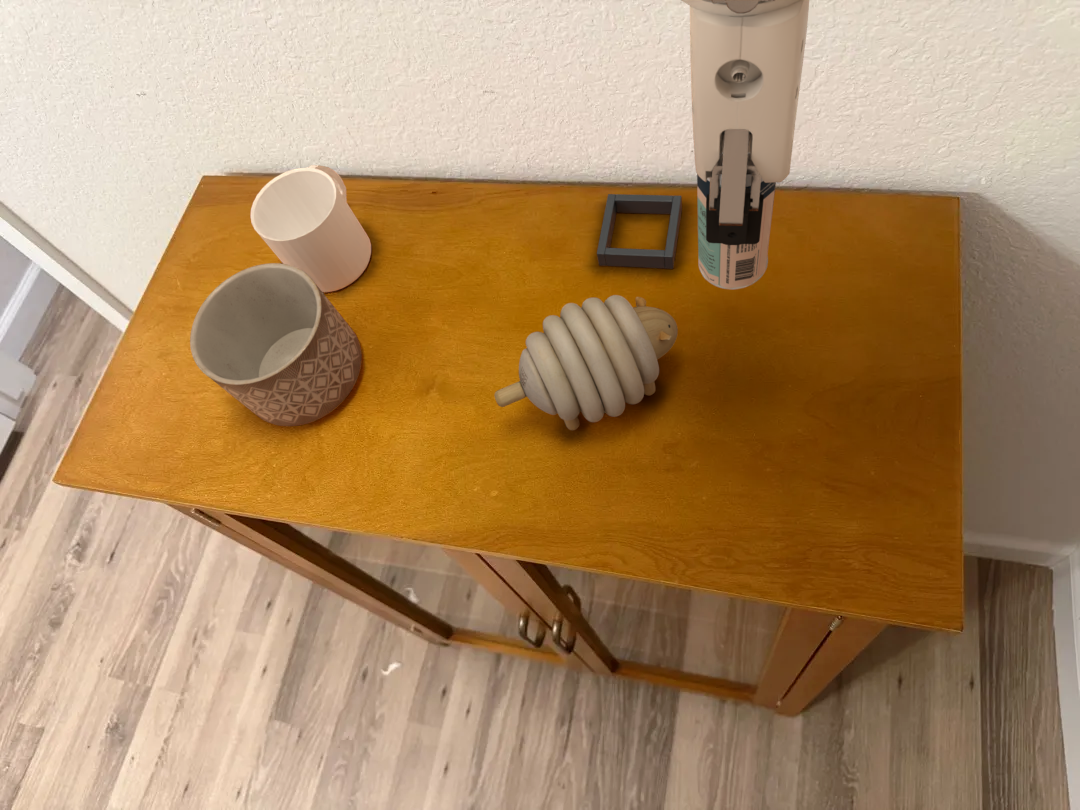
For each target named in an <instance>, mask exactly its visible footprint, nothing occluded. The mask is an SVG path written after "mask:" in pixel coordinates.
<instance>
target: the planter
mask: <svg viewBox="0 0 1080 810" xmlns="http://www.w3.org/2000/svg"><path fill="white" fill-rule="evenodd" d="M189 344H190V345H189V346H190V352H191V356H192V358H193V361H194V362H195V365H196V367H197V368H198V369H199V370H200V371H201V372H202V373H203V374H204V375H205V376H206V377H208V378H209V379H210V380H211V381H213V382H214V383H216V385H218V386H219V387H221V389H223V390H224V391H225V392H226V393H228V394H229V395H231V396H232V397H233V398H234V399H235V400H237V401H238V402H239V403H241V404H242V405H243V406H244V407H246V408H247V409H248V410H250V411H251V412H252V413H253V414H254V415H255V416H257V417H258V418H260V419H261V420H263V421H264V422H267V423H269V424H271V425H275V426H280V427H298V426H303V425H307V424H310V423H313V422H316V421H318V420H320V419H322V418H324V417H326V416H327V415H329V414H330V413H332V412H333V411H334V410H335V409H337V408H338V407H339V406H340V405H341V404H342V403H343V402H344V401H345V400H346V399H347V397H348V396H349V395H350V393H351V392H352V390H353V388H354V387H355V384H356V383H357V381H358V378H359V375H360V372H361V367H362V358H363V357H362V355H363V354H362V347H361V344H360V340H359V338H358V336H357V335H356V333H355V331H354V330H353V328H352V327H351V326H350V325H349V323H348V322H347V321H346V320H345V318H344V317H343V316H342V315H341V314H340V312H339V311H338V310H337V309H336V307H335V306H334V305H333V303H332V302H331V301H330V300H329V298H328V297H327V296H326V295H325V293H324V292H322V291H321V290H320V289H319V287H318V286H317V285H316V284H315V282H314V281H313V280H312V279H311V277H310V276H309V275H307V274H306V273H305V272H304V271H302V270H300V269H298V268H296V267H294V266H291V265H287V264H283V263H280V262H271V263H270V262H268V263H263V264H262V263H261V264H256V265H252V266H250V267H247V268H245V269H242V270H240V271H238V272H236V273H234V274H233V275H231V276H230V277H228V278H226V279H225V280H223V281H222V282H221V283H220V284H219V285H217V287H215V289H213V290H212V292H210V294H209V295H208V296H207V297H206V298H205V299H204V301H203V302H202V304H201V305H200V307H199V309H198V311H197V313H196V315H195V317H194V319H193V322H192V326H191V330H190V337H189Z"/></svg>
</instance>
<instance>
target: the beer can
mask: <svg viewBox="0 0 1080 810" xmlns="http://www.w3.org/2000/svg"><path fill="white" fill-rule="evenodd" d="M722 154H723V152H722ZM748 154H750V152H748ZM751 178H752V175H746V187H745V188H750V192H751ZM721 180H722V175H720V189H721ZM776 184H777V182H772V183H765V182H764V181H763V179H762V178H761V185H760V195H764V200H763V211H762V221H761V231H760V241H759V242H758V243H757V244H741V245H725V244H722V243H709V242H707V240H706V198H707V194H710V178H707V182H705V181H703V180H702V179H701V178H700V177H699V176H698V174H697V173H696V188H697V189H696V190H697V193H696V194H697V250H698V251H697V252H698V253H697V254H698V255H697V256H698V263H697V264H698V269H699V272H700V273H701V275H702V277H703V279H704V280H705V281H707V282H708V283H709V284H710V285H713V286H714V287H717V288H720V289H723V290H740V289H745V288H747V287H750V286H752V285H754V284H755V283H757V282H758V281H759V280H760V279H761V278H763V276H764V274H765V273H766V271H767V268H768V264H769V254H768V253H769V245H770V238H771V237H770V236H771V228H772V220H773V210H774V203H775V194H776Z"/></svg>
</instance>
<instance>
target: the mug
mask: <svg viewBox="0 0 1080 810" xmlns="http://www.w3.org/2000/svg"><path fill="white" fill-rule="evenodd" d="M347 199H348V198H347V186H346V185H345V183H344V180H343V179H342V176H341V175H339V174H338V172H336V171H335V170H334V169H333V168H331V167H329V166H326V165H320V164H311V165H309V166H307V167H298V168H294V169H289V170H287V171H285V172H283V173H282V172H281V173H280V174H279V175H277V176H275V177H274V178H272V179H271V180H269V181H268V182H267V183H266V184H265V185H264V186H262V188H261V189H260V191H259V192H258V193H257V194H256V196H255V197H254V200H253V202H252V205H251V208H250V216H249V217H250V221H251V225H252V227H253V229H254V231H255V232H256V234H258V236H259V237H260V238H261V239H262V240H263V242H264V243H265V244H266V245H267V246H268V247H269V249H270V250H271V251H272V253H274V255H276V257H277V258H278V259H279V260H280V262H281V264H287V265H291V266H294V267H296V268H298V269H300V270H302V271H304V272H305V273H306V274H307V275H309V276H310V277H311V279H312V280H313V281H314V282H315V284H316V285H317V286H318V287H319V289H320V290H321V291H322V292H323V293H332V292H336V291H339V290H342V289H345V288H346V287H348V286H350V285H351V284H353V283H354V282H356V281H357V279H359V278H360V277H361V276H362V274H363V273H364V271H365V270H366V269H367V267H368V265H369V262H370V260H371V259H370V258H371V255H372V243H371V240H370V238H369V236H368V234H367V232H366V230H365V229H364V228H363V226H362V224H361V223H360V221H359V219H358V218H357V216H356V215H355V213H354V212H353V210H352V208H351V207H350V205H349V204H348V202H347V201H348V200H347Z"/></svg>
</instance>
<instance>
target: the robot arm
mask: <svg viewBox="0 0 1080 810" xmlns="http://www.w3.org/2000/svg"><path fill="white" fill-rule="evenodd" d="M680 1H682V2H683V3H684V4H687V5H688V6H689V51H690V52H689V53H690V54H689V55H690V58H689V59H690V90H691V92H690V93H691V94H690V95H691V113H692V114H691V118H692V119H691V121H692V135H693V136H692V138H693V152H694V165H695V166H694V167H695V172H696V175H697V174H698V176H699V177H700V178H701V179H702V180H703V181H705V182H707V178H710V194H707V198H706V240H707V242H709V243H722V244H725V245H741V244H757V243H758V242H759V241H760V231H761V221H762V211H763V200H764V195H760V185H761V178H762V179H763V181H764V182H765V183H772V182H776V184H777V183H779V184H780V183H782V182H784V181H785V180H786V179H787V177H788V176H789V175H790V172H791V164H792V155H793V147H794V146H793V145H794V137H795V131H796V130H795V129H796V120H797V113H798V112H797V110H798V104H799V95H800V90H801V89H800V88H801V82H802V73H803V66H804V57H805V48H806V42H807V41H806V40H807V32H808V21H809V12H810V11H809V10H810V0H680ZM722 152H723V154H722ZM748 152H750V154H748ZM720 175H722V180H721V189H720ZM746 175H752V178H751V192H750V188H745V187H746Z"/></svg>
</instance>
